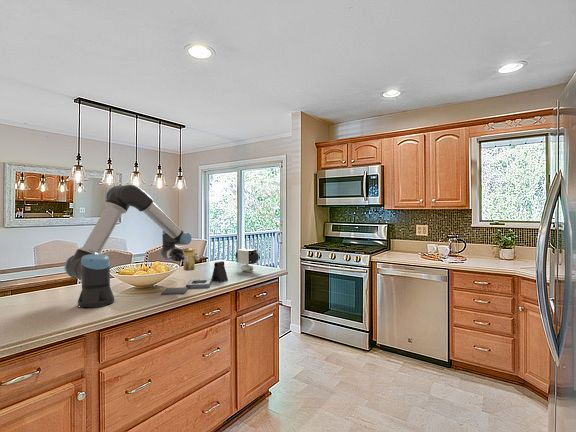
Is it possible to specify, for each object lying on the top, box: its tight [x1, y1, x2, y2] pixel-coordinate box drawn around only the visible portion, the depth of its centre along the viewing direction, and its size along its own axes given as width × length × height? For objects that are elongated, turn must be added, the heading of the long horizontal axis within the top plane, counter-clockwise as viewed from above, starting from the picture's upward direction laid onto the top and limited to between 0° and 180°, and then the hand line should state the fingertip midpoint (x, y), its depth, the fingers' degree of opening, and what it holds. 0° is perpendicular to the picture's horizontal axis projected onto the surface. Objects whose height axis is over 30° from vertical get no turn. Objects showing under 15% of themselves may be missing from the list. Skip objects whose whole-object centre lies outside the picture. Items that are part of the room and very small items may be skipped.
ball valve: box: [234, 247, 259, 273], centre depth 231 cm, size 18×8×18 cm, turn 49°
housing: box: [185, 278, 213, 289], centre depth 189 cm, size 14×13×2 cm
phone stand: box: [211, 260, 229, 283], centre depth 202 cm, size 9×6×12 cm, turn 56°
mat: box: [160, 286, 190, 296], centre depth 175 cm, size 12×12×1 cm
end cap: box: [182, 247, 196, 272], centre depth 183 cm, size 7×7×12 cm
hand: (193, 258), depth 179 cm, fingers closed on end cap, 6 cm apart
